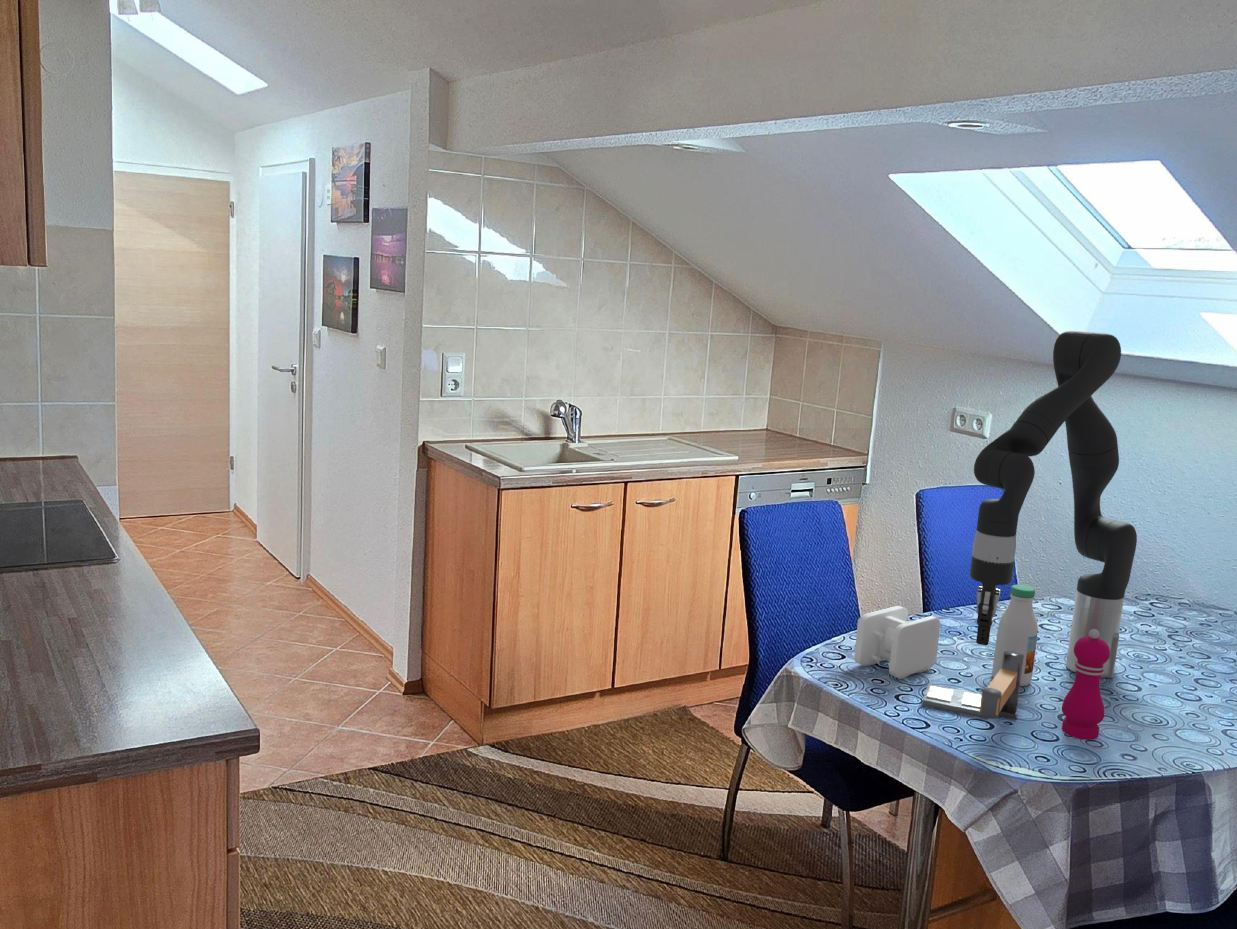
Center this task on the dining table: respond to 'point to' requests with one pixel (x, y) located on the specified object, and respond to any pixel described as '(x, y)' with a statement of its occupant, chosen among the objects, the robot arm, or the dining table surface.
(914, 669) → the cable organizer
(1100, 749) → the dining table surface
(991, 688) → the swing bar
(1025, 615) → the milk bottle
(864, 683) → the dining table surface
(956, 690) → the label plate
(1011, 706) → the post
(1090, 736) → the pepper mill
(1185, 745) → the dining table surface
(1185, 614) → the dining table surface
